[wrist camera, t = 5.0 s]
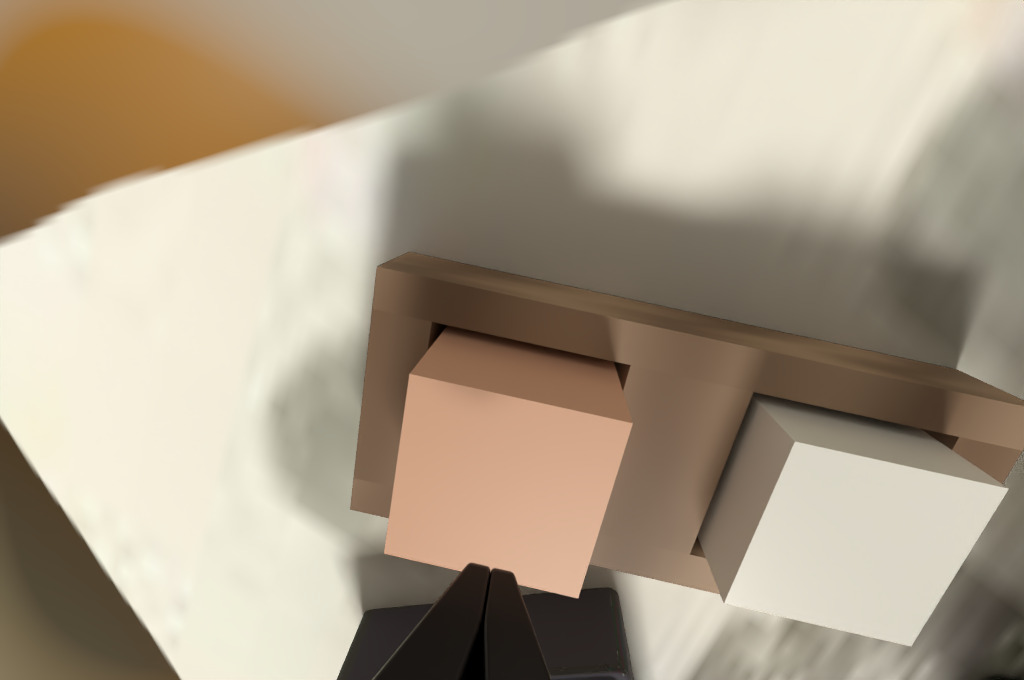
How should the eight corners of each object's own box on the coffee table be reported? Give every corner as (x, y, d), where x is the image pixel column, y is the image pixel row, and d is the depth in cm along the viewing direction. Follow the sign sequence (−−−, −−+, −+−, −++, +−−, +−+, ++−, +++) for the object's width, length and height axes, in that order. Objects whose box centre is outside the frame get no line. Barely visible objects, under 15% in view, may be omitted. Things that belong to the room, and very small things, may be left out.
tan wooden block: (613, 360, 14) (633, 423, 11) (573, 500, 16) (578, 598, 12) (448, 324, 14) (409, 374, 11) (425, 466, 16) (383, 553, 12)
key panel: (957, 369, 16) (1047, 411, 13) (853, 565, 18) (908, 637, 15) (408, 251, 16) (377, 266, 13) (382, 459, 18) (350, 509, 16)
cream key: (895, 412, 15) (1008, 488, 11) (830, 541, 17) (910, 646, 13) (736, 377, 15) (794, 441, 11) (686, 508, 17) (723, 603, 13)
